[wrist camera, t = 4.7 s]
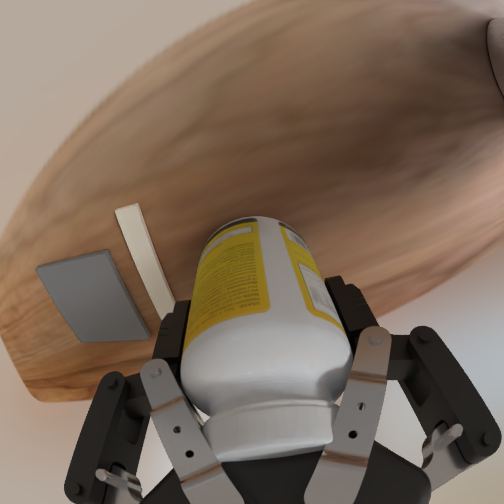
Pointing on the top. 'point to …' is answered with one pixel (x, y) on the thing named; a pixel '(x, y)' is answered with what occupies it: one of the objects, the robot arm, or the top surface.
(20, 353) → the top surface
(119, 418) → the robot arm
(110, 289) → the mat
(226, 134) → the top surface
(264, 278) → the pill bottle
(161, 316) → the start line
